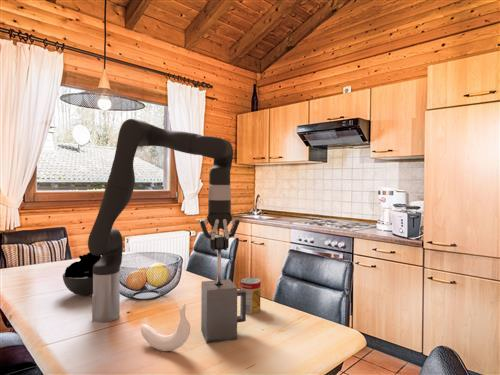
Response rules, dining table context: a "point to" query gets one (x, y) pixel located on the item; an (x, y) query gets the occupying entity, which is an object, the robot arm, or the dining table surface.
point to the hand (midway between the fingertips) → (219, 249)
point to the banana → (170, 340)
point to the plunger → (219, 256)
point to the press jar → (221, 310)
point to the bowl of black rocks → (81, 275)
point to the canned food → (251, 294)
